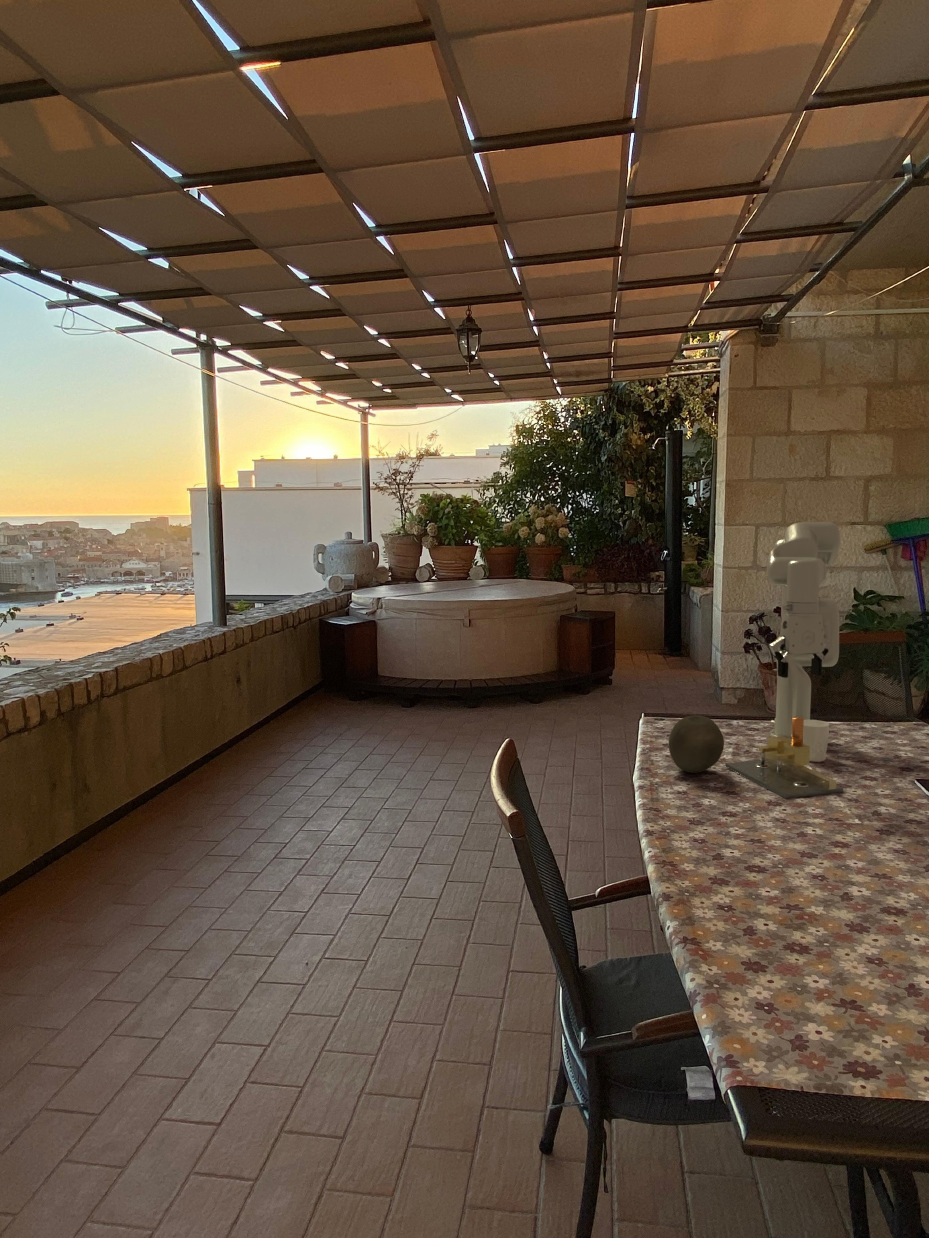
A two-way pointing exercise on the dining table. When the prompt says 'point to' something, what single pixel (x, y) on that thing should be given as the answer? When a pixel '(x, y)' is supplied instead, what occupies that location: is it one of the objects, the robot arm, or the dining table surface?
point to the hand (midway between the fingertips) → (799, 675)
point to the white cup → (816, 739)
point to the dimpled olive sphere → (695, 743)
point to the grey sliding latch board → (784, 773)
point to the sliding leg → (795, 747)
